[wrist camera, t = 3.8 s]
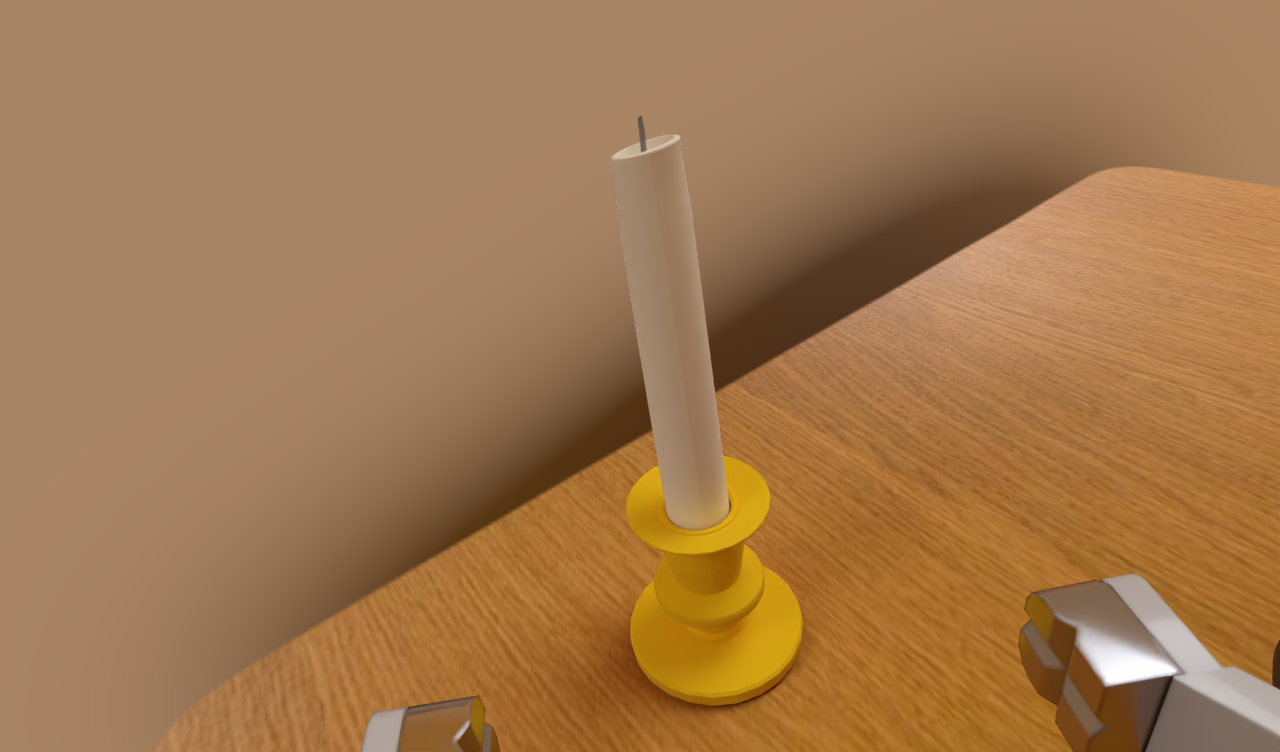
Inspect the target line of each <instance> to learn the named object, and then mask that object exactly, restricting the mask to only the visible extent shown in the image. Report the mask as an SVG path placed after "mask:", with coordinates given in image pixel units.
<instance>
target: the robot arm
mask: <svg viewBox="0 0 1280 752" xmlns="http://www.w3.org/2000/svg"><path fill="white" fill-rule="evenodd" d="M1024 610H1025V611H1026V613H1027V614H1028V616H1029V618H1030V620H1029V621H1028V622H1027V623H1026V624H1025V625H1024V626H1023V627H1022V628H1021V629H1020V636H1019V644H1018V646H1019V651H1020V655H1021V660H1022V664H1023V666H1024V669H1025V671H1026V674H1027V676H1028V678H1029V680H1030V682H1031V683H1032V685H1033V687H1034V688H1035V690H1036V692H1037V693H1038V694H1039V695H1040V696H1042V697H1044V698H1045V699H1047V700H1048V701H1050V702H1052V703H1053V704H1055V705H1056V706H1057V710H1056V719H1055V723H1056V724H1057V726H1058V728H1059V729H1060V731H1061V732H1062V734H1063V736H1064V737H1065V739H1066V740H1067V742H1068V744H1069V745H1070V747H1071V748H1072V750H1073V752H1280V689H1278V688H1276V687H1274V686H1272V685H1270V684H1268V683H1266V682H1264V681H1262V680H1260V679H1258V678H1256V677H1254V676H1253V675H1251V674H1249V673H1247V672H1245V671H1243V670H1241V669H1239V668H1237V667H1235V666H1226V667H1222V666H1221V665H1220V664H1219V663H1218V661H1217V660H1216V659H1215V658H1214V657H1213V656H1212V655H1211V654H1210V652H1209V651H1208V650H1207V649H1206V648H1205V647H1204V646H1203V645H1202V643H1201V642H1200V641H1199V640H1198V639H1197V638H1196V637H1195V635H1194V634H1193V633H1192V632H1191V631H1190V630H1189V629H1188V628H1187V626H1186V625H1185V624H1184V623H1183V622H1182V621H1181V620H1180V619H1179V617H1178V616H1177V615H1176V614H1175V613H1174V612H1173V611H1172V609H1171V608H1170V607H1169V606H1168V605H1167V604H1166V603H1165V602H1164V600H1163V599H1162V598H1161V597H1160V596H1159V595H1158V594H1157V593H1156V591H1155V590H1154V589H1153V588H1152V587H1151V586H1150V585H1149V583H1148V582H1147V581H1146V580H1145V579H1144V578H1142V577H1140V576H1139V575H1137V574H1126V575H1122V576H1117V577H1112V578H1107V579H1102V580H1091V581H1086V582H1081V583H1076V584H1071V585H1066V586H1061V587H1056V588H1051V589H1046V590H1041V591H1036V592H1032V593H1031V594H1030V595H1029V596H1028V597H1027V598H1026V603H1025V608H1024ZM484 717H485V708H484V705H483V703H482V701H481V699H480V697H479V695H478V696H472V697H466V698H460V699H454V700H448V701H441V702H435V703H429V704H423V705H417V706H411V707H404V708H398V709H393V710H387V711H382V712H376V713H373V715H372V717H371V719H370V721H369V723H368V724H367V727H366V732H365V736H364V741H363V745H362V750H361V752H500V748H499V744H498V739H497V736H496V733H495V731H494V728H493V727H492V726H490V725H488V724H486V723H484Z"/></svg>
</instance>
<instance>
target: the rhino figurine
mask: <svg viewBox="0 0 1280 752" xmlns="http://www.w3.org/2000/svg"><path fill="white" fill-rule="evenodd" d="M1272 680H1273V686H1274V687H1276V688H1278V689H1280V640H1279V642H1278V644H1277V646H1276V649H1275V652H1274V657H1273V674H1272Z"/></svg>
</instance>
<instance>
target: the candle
mask: <svg viewBox="0 0 1280 752" xmlns="http://www.w3.org/2000/svg"><path fill="white" fill-rule="evenodd" d="M638 126H639V136H640V142H639V143H637V144H634V145H632V146H630V147H627V148H625V149H623V150H621V151H619V152H618V153H616V154H615V155H613V156H612V158H611V168H612V176H613V184H614V192H615V200H616V208H617V216H618V223H619V232H620V239H621V244H622V251H623V257H624V263H625V269H626V275H627V281H628V287H629V293H630V298H631V304H632V310H633V317H634V322H635V329H636V335H637V340H638V346H639V352H640V358H641V364H642V370H643V376H644V382H645V387H646V394H647V399H648V406H649V412H650V418H651V424H652V430H653V436H654V442H655V448H656V454H657V460H658V466H656V467H654V468H653V469H651V470H650V471H649V472H647V473H646V474H645V475H644V476H642V477H641V478H640V479H639V480H638V482H637V483H636V484H635V486H634V487H633V488H632V490H631V492H630V494H629V497H628V500H627V503H626V505H627V519H628V521H629V524H630V526H631V529H632V531H633V532H634V533H635V534H636V535H637V536H638V537H639V538H640V539H641V541H643V542H644V543H646V544H648V545H649V546H651V547H653V548H654V549H656V550H659V551H663V552H664V553H665V555H664V556H663V558H662V560H661V561H660V563H659V564H658V566H657V568H656V572H655V575H654V580H653V581H652V582H651V583H650V584H649V585H648V586H647V587H646V588H645V589H644V591H643V592H642V594H641V596H640V597H639V599H638V600H637V602H636V603H635V607H634V610H633V613H632V617H631V620H630V639H631V643H632V647H633V650H634V653H635V656H636V659H637V662H638V665H639V666H640V668H641V669H642V670H643V672H644V673H645V674H646V676H647V677H648V678H649V680H650V681H651V682H652V683H654V684H655V685H656V686H658V687H659V688H660V689H662V690H663V691H664V692H666V693H667V694H669V695H671V696H674V697H676V698H679V699H681V700H684V701H686V702H689V703H695V704H703V705H710V706H717V705H726V704H735V703H740V702H743V701H745V700H748V699H751V698H754V697H756V696H759V695H761V694H763V693H764V692H766V691H767V690H769V689H770V688H771V687H773V686H774V685H776V684H777V683H779V682H780V681H781V680H782V678H783V677H784V676H785V675H786V674H787V672H788V671H789V670H790V669H791V668H792V667H793V665H794V663H795V661H796V658H797V656H798V654H799V651H800V649H801V645H802V633H803V619H802V615H801V611H800V607H799V603H798V600H797V599H796V597H795V595H794V594H793V592H792V590H791V589H790V587H789V585H788V584H787V583H785V582H784V581H783V580H782V579H781V578H780V577H779V576H778V575H777V574H776V573H775V572H773V571H771V570H769V569H768V568H766V567H764V566H762V563H761V562H760V560H759V558H758V557H757V555H756V554H755V553H754V552H753V551H752V550H751V549H750V548H749V547H748V546H746V545H744V541H745V540H747V539H749V538H750V537H751V536H752V535H753V534H754V533H755V532H756V531H757V530H758V529H759V528H760V527H761V526H762V525H763V523H764V521H765V519H766V517H767V515H768V513H769V508H770V501H771V498H770V494H769V490H768V486H767V484H766V482H765V481H764V479H763V478H762V476H761V475H760V474H759V473H758V472H757V471H756V470H754V469H753V468H752V467H751V466H749V465H748V464H746V463H744V462H741V461H739V460H737V459H735V458H731V457H726V456H723V453H722V445H721V437H720V429H719V421H718V413H717V405H716V398H715V390H714V382H713V374H712V367H711V359H710V350H709V343H708V335H707V327H706V319H705V311H704V304H703V295H702V288H701V280H700V272H699V264H698V256H697V248H696V240H695V233H694V225H693V217H692V210H691V203H690V197H689V192H688V186H687V180H686V175H685V169H684V163H683V157H682V152H681V147H680V136H679V135H664V136H659V137H655V138H651V139H648V140H646V138H645V130H644V125H643V120H642V116H640V117H639V118H638Z"/></svg>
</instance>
